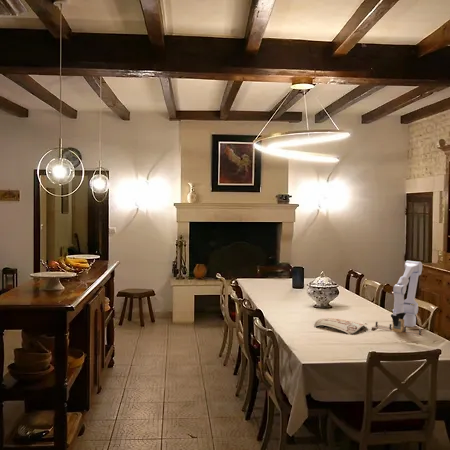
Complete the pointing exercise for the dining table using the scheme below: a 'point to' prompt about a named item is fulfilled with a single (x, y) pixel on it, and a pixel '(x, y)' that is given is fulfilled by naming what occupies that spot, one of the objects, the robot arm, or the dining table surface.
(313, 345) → the dining table surface
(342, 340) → the dining table surface
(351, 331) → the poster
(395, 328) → the light brown rectangular slab
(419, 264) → the robot arm
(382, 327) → the peg board
